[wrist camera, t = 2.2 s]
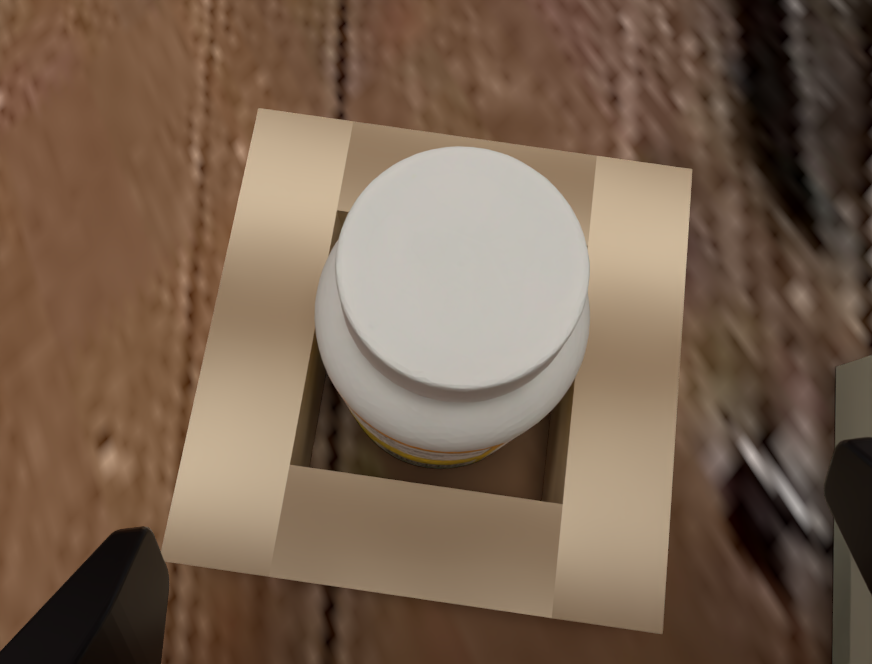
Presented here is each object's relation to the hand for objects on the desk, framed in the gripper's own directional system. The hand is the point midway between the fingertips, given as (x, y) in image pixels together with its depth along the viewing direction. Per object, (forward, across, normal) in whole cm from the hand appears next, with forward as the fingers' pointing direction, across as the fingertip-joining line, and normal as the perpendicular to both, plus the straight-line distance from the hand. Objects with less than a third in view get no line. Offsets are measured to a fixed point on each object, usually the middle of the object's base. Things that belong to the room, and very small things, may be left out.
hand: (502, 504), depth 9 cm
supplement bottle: (+10, 0, +5) cm, 11 cm away
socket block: (+10, 0, +5) cm, 11 cm away
